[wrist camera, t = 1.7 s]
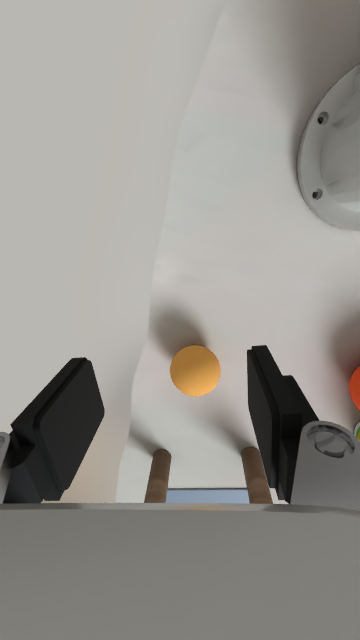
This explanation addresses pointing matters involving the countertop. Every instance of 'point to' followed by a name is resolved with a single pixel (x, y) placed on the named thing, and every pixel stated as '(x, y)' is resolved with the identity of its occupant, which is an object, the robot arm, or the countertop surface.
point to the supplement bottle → (357, 431)
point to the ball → (195, 370)
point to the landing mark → (207, 496)
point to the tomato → (355, 387)
